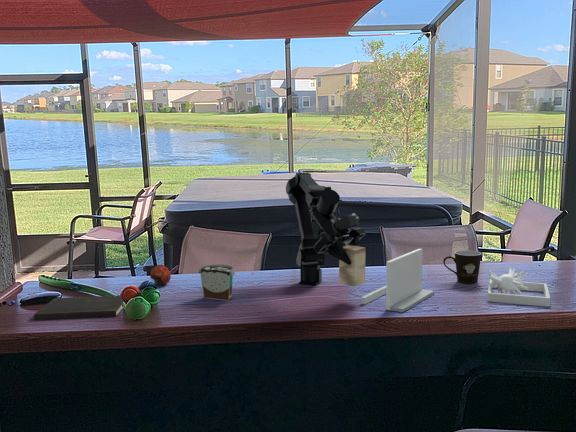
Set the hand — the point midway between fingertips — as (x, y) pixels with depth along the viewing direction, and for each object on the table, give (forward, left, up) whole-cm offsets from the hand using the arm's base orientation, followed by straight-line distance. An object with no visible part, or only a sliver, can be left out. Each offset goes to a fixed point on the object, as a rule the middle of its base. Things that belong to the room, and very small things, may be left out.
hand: (355, 262), depth 157 cm
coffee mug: (+28, +34, -12) cm, 46 cm away
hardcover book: (-75, -33, -13) cm, 83 cm away
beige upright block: (-1, +1, -7) cm, 7 cm away
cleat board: (+11, +7, -12) cm, 18 cm away
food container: (-42, -8, -12) cm, 45 cm away
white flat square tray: (+45, +21, -12) cm, 51 cm away
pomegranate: (-70, -2, -12) cm, 71 cm away
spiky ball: (+42, +23, -13) cm, 49 cm away
